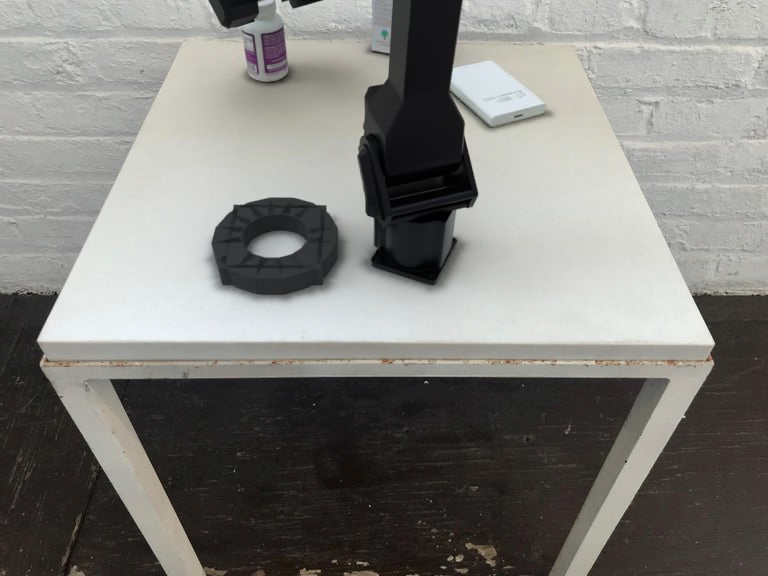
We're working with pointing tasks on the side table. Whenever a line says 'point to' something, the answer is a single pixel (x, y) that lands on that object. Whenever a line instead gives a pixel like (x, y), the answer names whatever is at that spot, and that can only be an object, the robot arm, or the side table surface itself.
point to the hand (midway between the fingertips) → (261, 14)
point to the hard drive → (494, 94)
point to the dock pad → (275, 271)
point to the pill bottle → (265, 44)
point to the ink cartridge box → (381, 25)
